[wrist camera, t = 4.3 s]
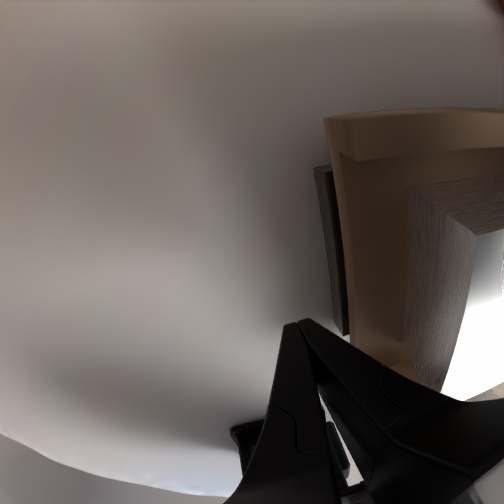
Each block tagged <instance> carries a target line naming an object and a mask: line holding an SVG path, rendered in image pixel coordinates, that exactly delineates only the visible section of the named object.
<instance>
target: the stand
mask: <svg viewBox="0 0 504 504" xmlns="http://www.w3.org/2000/svg"><path fill="white" fill-rule="evenodd" d="M313 170H314V175H315V181H316V187H317V192H318V198H319V204H320V210H321V217H322V223H323V230H324V237H325V244H326V251H327V258H328V266H329V274H330V283H331V292H332V301H333V311H334V322H335V324H336V326H337V327H338V329H339V331H340V332H341V334H342V336H346V335H349V334H350V331H349V311H348V296H347V283H346V271H345V260H344V250H343V241H342V232H341V224H340V216H339V209H338V202H337V195H336V188H335V182H334V176H333V169H332V164H329V165H325V166H320V167H315V168H313Z"/></svg>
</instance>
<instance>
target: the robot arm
mask: <svg viewBox="0 0 504 504" xmlns="http://www.w3.org/2000/svg"><path fill="white" fill-rule="evenodd" d="M318 391H319V392H318ZM319 393H320V395H321V397H322V399H323V401H324V403H325V405H326V407H327V409H328V411H329V413H330V415H331V417H332V419H333V421H334V423H335V425H336V427H337V429H338V431H339V433H340V435H341V437H342V438H343V440H344V442H345V444H346V446H347V448H348V450H349V452H350V454H351V456H352V458H353V460H354V462H355V464H356V466H357V468H358V470H359V472H360V474H361V476H362V478H363V479H364V480H363V481H361V482H360V483H358V484H355V485H352V486H348V484H347V481H346V478H348V476H349V471H350V463H349V461H348V458H347V456H346V453H345V450H344V448H343V445H342V443H341V440H340V438H339V435H338V433H337V430H336V428H335V426H334V423H333V422H331V421H328V422H326V417H325V411H324V408H323V406H322V405H321V402H320V397H319ZM230 435H231V437H232V439H233V440H234V442H235V443H236V445H237V446H238V448H239V455H240V462H241V469H242V476H243V478H242V480H241V482H240V484H239V485H238V487H237V489H236V490H235V492H234V493H233V494H232V495H231V496H230V497H229V498H228V500H226V502H224V503H223V504H504V398H498V399H491V400H483V401H473V402H471V401H462V400H458V399H455V398H452V397H450V396H447V395H445V394H442V393H440V392H438V391H435V390H433V389H431V388H428V387H426V386H424V385H421V384H419V383H417V382H415V381H413V380H411V379H409V378H406V377H405V376H403V375H401V374H399V373H397V372H396V371H394V370H392V369H391V368H389V367H387V366H386V365H383V364H382V363H381V362H379V361H377V360H376V359H374V358H372V357H371V356H369V355H368V354H366V353H364V352H363V351H361V350H359V349H358V348H356V347H355V346H353V345H351V344H350V343H348V342H347V341H345V340H343V339H342V338H340V337H339V336H337V335H336V334H334V333H332V332H331V331H329V330H328V329H326V328H324V327H323V326H321V325H320V324H318V323H317V322H315V321H313V320H312V319H310V318H305V319H302V320H299V321H297V323H296V322H292V323H289V324H286V325H284V327H283V332H282V337H281V343H280V348H279V354H278V359H277V364H276V369H275V374H274V380H273V385H272V390H271V394H270V399H269V404H268V408H267V413H266V417H265V420H263V421H259V422H254V423H250V424H245V425H241V426H236V427H233V428H231V429H230Z"/></svg>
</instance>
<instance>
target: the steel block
mask: <svg viewBox="0 0 504 504" xmlns="http://www.w3.org/2000/svg"><path fill="white" fill-rule="evenodd" d="M406 194H407V215H408V270H407V291H406V306H405V317H404V327H403V336H402V345H403V347H404V349H405V351H406V353H407V355H408V357H409V360H410V362H411V364H412V366H413V368H414V371H415V373H416V375H417V378H418V380H419V382H420V384H421V385H424V386H426V387H428V388H431V389H433V390H435V391H438V392H440V393H442V394H445V395H447V396H450V397H452V398H455V399H458V400H462V401H464V400H466V399H468V398H471V397H473V396H475V395H477V394H479V393H481V392H483V391H486V390H488V389H490V388H492V387H494V386H496V385H498V384H499V383H501V382H503V381H504V174H497V175H489V176H481V177H474V178H466V179H459V180H452V181H445V182H438V183H431V184H425V185H418V186H412V187H406Z"/></svg>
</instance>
